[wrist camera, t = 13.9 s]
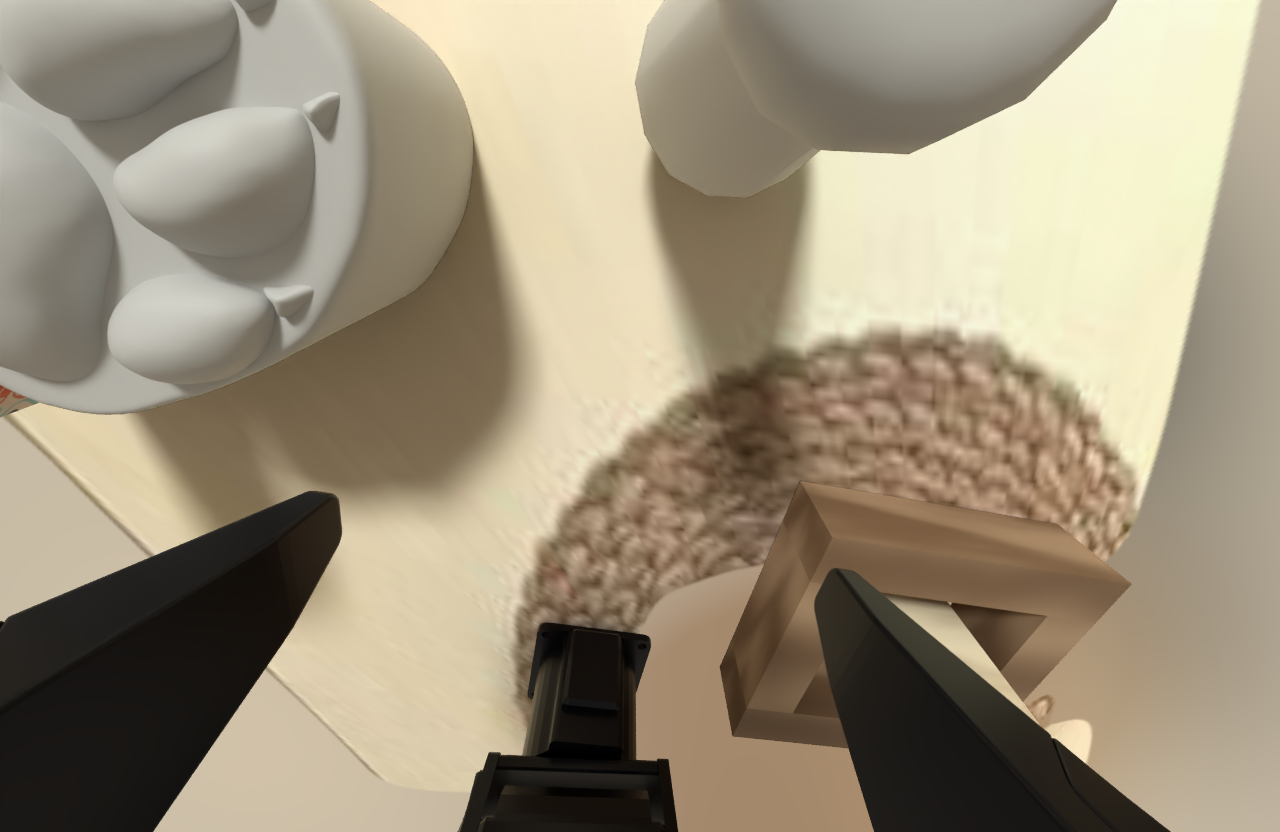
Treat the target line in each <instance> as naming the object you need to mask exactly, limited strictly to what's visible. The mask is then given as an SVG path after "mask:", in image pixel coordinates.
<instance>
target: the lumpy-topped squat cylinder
mask: <svg viewBox="0 0 1280 832" xmlns="http://www.w3.org/2000/svg"><path fill="white" fill-rule="evenodd" d="M472 169H473V136H472V128H471V122H470V118H469V114H468V111H467V108H466V105H465V102H464V99H463V97H462V94H461V92H460V90H459V88H458V86H457V84H456V82H455V80H454V78H453V77H452V75H451V73H450V72H449V70H448V69H447V67H446V66H445V64H444V63H443V62H442V60H441V59H440V58H439V57H438V55H437V54H436V53H435V52H434V51H433V50H432V49H431V48H430V47H429V46H428V45H427V44H426V43H425V42H424V41H423V40H422V39H421V38H420V37H419V36H418V35H417V34H416V33H414V32H413V31H412V30H411V29H409V28H408V27H407V26H406V25H404V24H403V23H402V22H400V21H399V20H398V19H396V18H395V17H393V16H392V15H390V14H389V13H388V12H386V11H385V10H383V9H382V8H380V7H379V6H377V5H376V4H375V3H373V2H372V1H370V0H0V385H1V386H3V387H5V388H7V389H9V390H11V391H13V392H15V393H17V394H20V395H22V396H24V397H27V398H29V399H32V400H35V401H37V402H40V403H43V404H47V405H51V406H55V407H59V408H63V409H68V410H72V411H77V412H83V413H91V414H105V415H111V414H127V413H135V412H140V411H145V410H148V409H152V408H156V407H160V406H163V405H167V404H170V403H173V402H176V401H180V400H183V399H187V398H192V397H196V396H199V395H202V394H205V393H208V392H211V391H213V390H216V389H219V388H221V387H224V386H226V385H229V384H231V383H234V382H236V381H239V380H241V379H243V378H245V377H248V376H250V375H252V374H254V373H257V372H259V371H261V370H263V369H265V368H267V367H269V366H271V365H273V364H275V363H277V362H279V361H281V360H283V359H285V358H287V357H289V356H291V355H293V354H295V353H297V352H299V351H301V350H303V349H305V348H307V347H309V346H311V345H312V344H314V343H316V342H318V341H320V340H322V339H324V338H326V337H328V336H330V335H332V334H334V333H336V332H338V331H340V330H342V329H344V328H345V327H347V326H349V325H351V324H353V323H355V322H357V321H359V320H361V319H363V318H365V317H367V316H369V315H371V314H373V313H375V312H377V311H379V310H381V309H383V308H384V307H386V306H388V305H390V304H392V303H394V302H396V301H398V300H400V299H402V298H403V297H405V296H407V295H408V294H410V293H412V292H413V291H414V290H416V289H417V288H418V287H420V286H421V285H422V284H423V283H424V282H425V281H426V280H427V278H428V277H429V276H430V275H431V273H432V272H433V270H434V269H435V267H436V266H437V264H438V263H439V261H440V260H441V258H442V256H443V255H444V253H445V251H446V250H447V248H448V246H449V245H450V243H451V241H452V239H453V237H454V235H455V233H456V231H457V229H458V227H459V225H460V223H461V220H462V218H463V215H464V212H465V209H466V206H467V202H468V197H469V191H470V185H471V178H472Z"/></svg>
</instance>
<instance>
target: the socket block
mask: <svg viewBox="0 0 1280 832" xmlns="http://www.w3.org/2000/svg"><path fill="white" fill-rule="evenodd" d="M832 568H842V569H848V570H853V571H855V572H856V573H858V574H859V575H860V576H861V577H863V578H864V579H865V580H866V581H867V582H869V583H870V584H871V585H872V586H873V587H875V588H876V589H877V590H878V591H879V592H883V593H890V594H897V595H904V596H911V597H918V598H925V599H932V600H939V601H946V602H953V603H952V604H951V608H952V609H953V610H954V612H955V613H956V614H957V616H958V617H959V618H960V620H961V621H962V622H963V624H964V625H965V626H966V628H967V629H968V630H969V631H970V633H971V634H972V635H973V637H974V638H975V639H976V641H977V642H978V643H979V645H980V646H981V647H982V649H983V650H984V651H985V653H986V654H987V655H988V657H989V658H990V659H991V661H992V662H993V663H994V665H995V666H996V667H997V669H998V670H999V671H1000V673H1001V674H1002V675H1003V677H1004V678H1005V679H1006V681H1007V682H1008V683H1009V685H1010V686H1011V687H1012V689H1013V690H1014V691H1015V693H1016V694H1017V695H1018V697H1019V698H1020V699H1021V701H1022V702H1023V701H1024V700H1025V699H1026V698H1027V697H1028V696H1029V694H1030V693H1031V692H1032V691H1033V690H1034V689H1035V688H1036V687H1037V686H1038V685H1039V684H1040V683H1041V681H1042V680H1043V679H1044V678H1045V677H1046V676H1047V675H1048V674H1049V673H1050V672H1051V671H1052V670H1053V669H1054V667H1055V666H1056V665H1057V664H1058V663H1059V662H1060V661H1061V660H1062V659H1063V658H1064V656H1066V655H1067V653H1068V652H1069V651H1070V650H1071V649H1072V648H1073V647H1074V646H1075V645H1076V644H1077V643H1078V642H1079V640H1080V639H1081V638H1082V637H1083V636H1084V635H1085V634H1086V633H1087V632H1088V631H1089V630H1090V628H1091V627H1092V626H1093V625H1094V624H1095V623H1096V622H1097V621H1098V620H1099V619H1100V618H1101V617H1102V615H1104V613H1105V612H1106V611H1107V610H1108V609H1109V608H1110V607H1111V606H1112V605H1113V604H1114V602H1116V600H1117V599H1118V598H1119V597H1120V596H1121V595H1122V594H1123V593H1124V592H1125V591H1126V589H1128V588H1129V586H1130V585H1131V583H1130V582H1129V581H1127V580H1126V579H1125V578H1123V577H1122V576H1121V575H1120V574H1118V573H1117V572H1116V571H1115V570H1114V569H1112V568H1111V567H1110V566H1109V565H1107V564H1106V563H1105V562H1104V561H1102V560H1101V559H1100V558H1099V557H1098V556H1096V555H1095V554H1094V553H1093V552H1091V551H1090V550H1089V549H1088V548H1086V547H1085V546H1084V545H1083V544H1081V543H1080V542H1079V541H1078V540H1076V539H1075V538H1074V537H1073V536H1071V535H1070V534H1069V533H1068V532H1066V531H1065V530H1064V529H1063V528H1061V527H1060V526H1059V525H1058V524H1054V523H1048V522H1042V521H1037V520H1031V519H1025V518H1019V517H1013V516H1007V515H1001V514H995V513H989V512H983V511H977V510H971V509H965V508H959V507H953V506H947V505H941V504H935V503H929V502H923V501H917V500H911V499H905V498H899V497H893V496H887V495H881V494H875V493H869V492H863V491H857V490H851V489H845V488H840V487H834V486H828V485H822V484H816V483H810V482H804V481H800V483H799V485H798V488H797V490H796V492H795V495H794V497H793V499H792V502H791V504H790V506H789V508H788V511H787V513H786V515H785V518H784V520H783V522H782V525H781V527H780V529H779V532H778V534H777V536H776V538H775V541H774V543H773V545H772V548H771V550H770V552H769V555H768V557H767V559H766V562H765V564H764V566H763V568H762V571H761V573H760V575H759V578H758V580H757V582H756V585H755V587H754V589H753V592H752V594H751V596H750V598H749V601H748V603H747V605H746V608H745V610H744V612H743V615H742V617H741V619H740V622H739V624H738V626H737V629H736V631H735V633H734V635H733V638H732V640H731V643H730V645H729V647H728V649H727V652H726V654H725V656H724V658H723V661H722V663H721V665H720V670H721V676H722V681H723V687H724V692H725V698H726V703H727V709H728V714H729V719H730V725H731V730H732V735H733V736H735V737H745V738H754V739H765V740H775V741H784V742H793V743H803V744H812V745H822V746H832V747H842V748H848V745H847V742H846V738H845V735H844V732H843V729H842V725H841V722H840V719H839V716H838V712H837V709H836V706H835V702H834V699H833V695H832V692H831V688H830V684H829V679H828V675H827V670H826V665H825V660H824V655H823V650H822V646H821V641H820V636H819V631H818V626H817V621H816V616H815V611H814V601H815V597H816V595H817V593H818V591H819V589H820V587H821V585H822V583H823V581H824V579H825V577H826V575H827V574H828V572H829V571H830V570H831V569H832Z"/></svg>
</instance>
